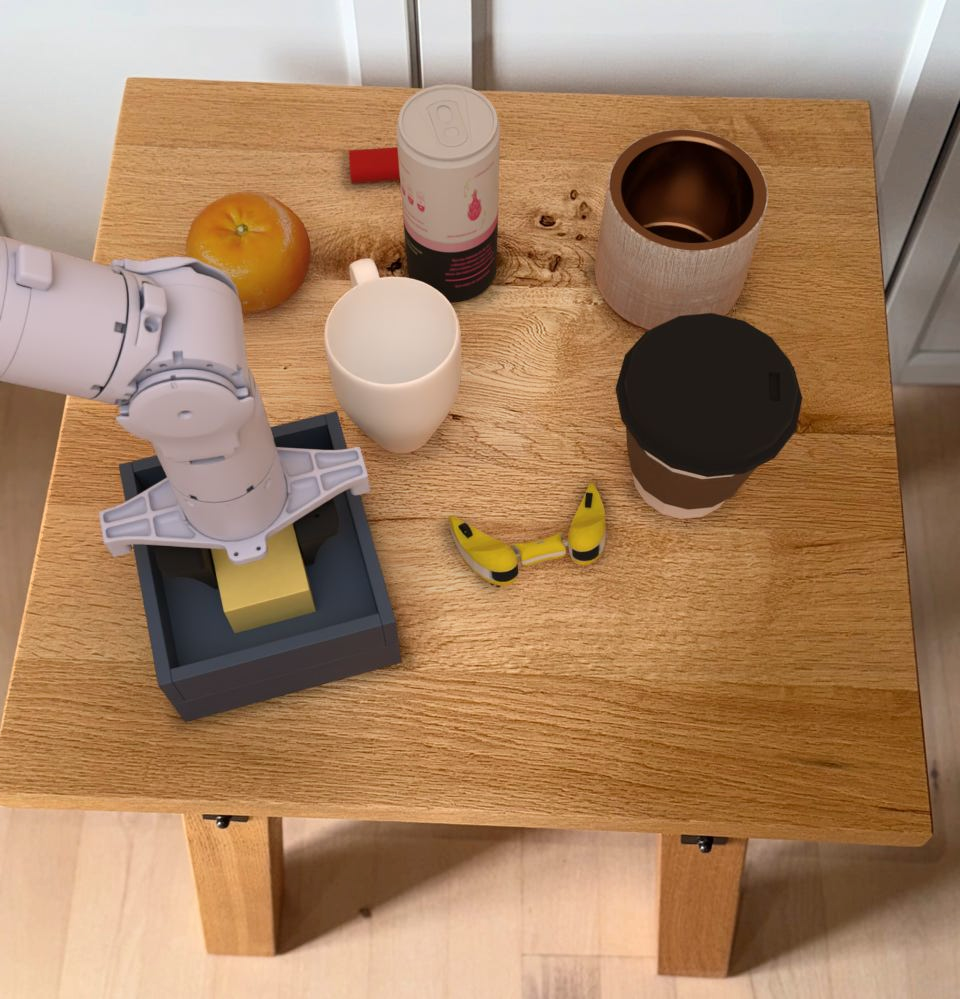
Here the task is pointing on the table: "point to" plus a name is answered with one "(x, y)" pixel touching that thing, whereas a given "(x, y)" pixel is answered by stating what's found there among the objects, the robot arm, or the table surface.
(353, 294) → the mug
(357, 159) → the lighter
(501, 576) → the game controller
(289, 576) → the notepads
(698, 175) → the planter
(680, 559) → the table surface
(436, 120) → the beverage can
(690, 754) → the table surface
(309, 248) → the fruit
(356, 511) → the bin
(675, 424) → the coffee cup
